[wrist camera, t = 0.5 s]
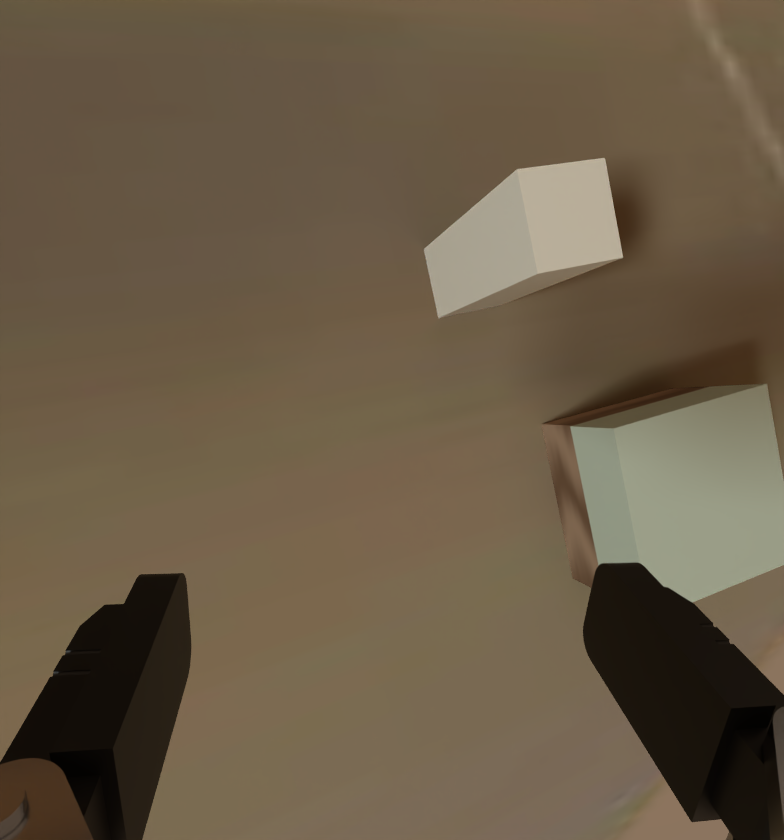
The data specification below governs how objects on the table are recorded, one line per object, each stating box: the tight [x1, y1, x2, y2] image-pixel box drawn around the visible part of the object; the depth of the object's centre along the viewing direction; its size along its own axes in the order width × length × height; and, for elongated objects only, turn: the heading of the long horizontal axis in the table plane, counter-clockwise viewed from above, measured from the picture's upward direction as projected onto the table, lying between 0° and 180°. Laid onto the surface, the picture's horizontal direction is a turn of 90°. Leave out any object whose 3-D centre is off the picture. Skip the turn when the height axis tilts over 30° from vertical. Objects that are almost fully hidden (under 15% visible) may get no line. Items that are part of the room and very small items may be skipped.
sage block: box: [570, 384, 784, 602], centre depth 34 cm, size 11×11×4 cm
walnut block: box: [541, 387, 707, 588], centre depth 37 cm, size 11×11×4 cm
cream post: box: [424, 158, 623, 318], centre depth 30 cm, size 4×4×12 cm
